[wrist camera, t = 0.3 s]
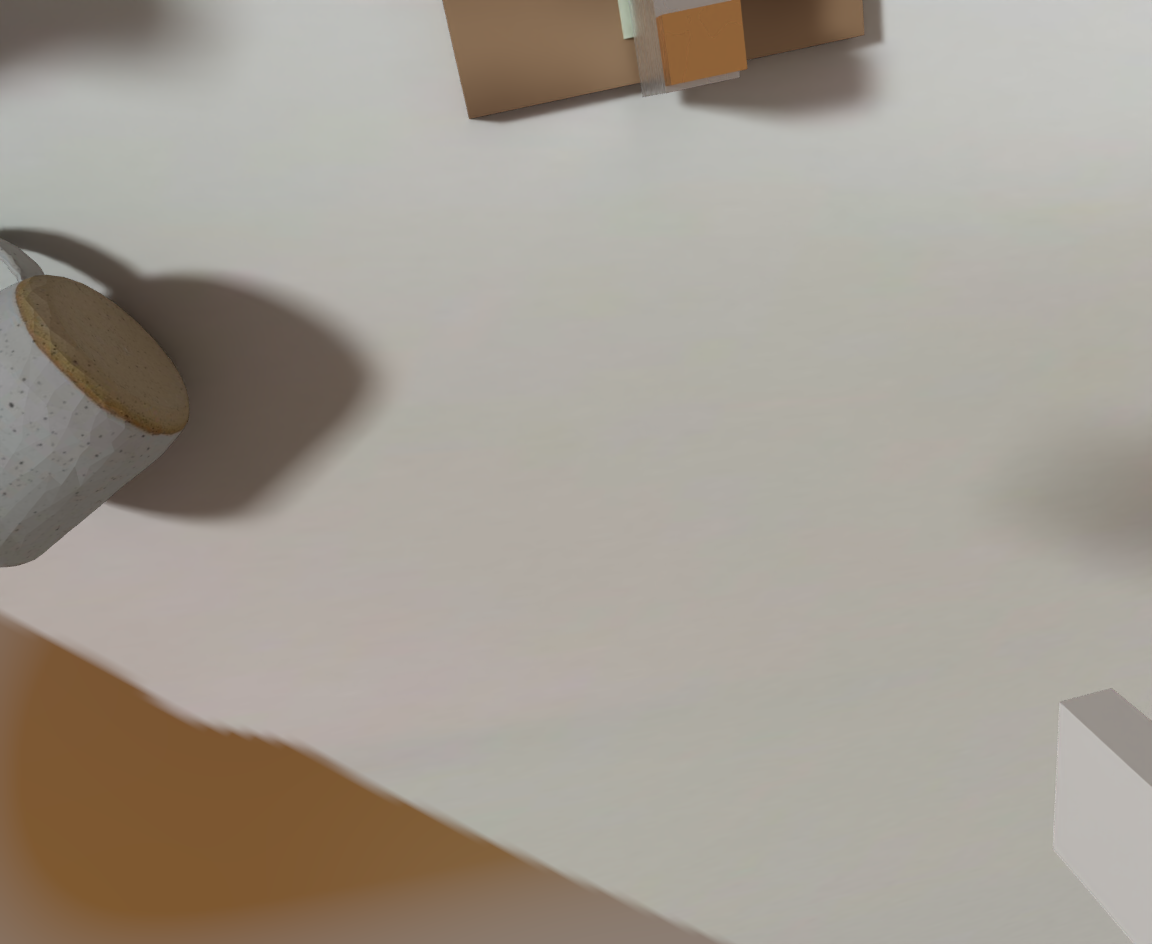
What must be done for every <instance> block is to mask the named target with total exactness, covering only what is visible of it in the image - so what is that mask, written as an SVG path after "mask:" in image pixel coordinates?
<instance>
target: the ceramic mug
mask: <svg viewBox="0 0 1152 944" xmlns="http://www.w3.org/2000/svg"><path fill="white" fill-rule="evenodd" d="M0 259H1V260H2V261H3V262H4V263H5V264H6V265H7V266H8V268H9V270H10V271H11V272H12V274H13V275H15V276H16V278H17V281H18V282H17V283H15V284H13V285H11V286H9V287H7V288H5V289H3V290H1V291H0V567H12V566H17V565H21V564H25V563H27V562H30V561H32V560H35V559H36V558H38V557H39V556H40V555H42V554H43V553H44V552H45V551H47V550H48V549H49V548H50V547H51V546H52V545H54V544H55V543H56V542H57V541H58V540H60V539H61V538H62V537H63V536H64V535H65V534H67V533H68V532H69V531H70V530H71V529H73V528H74V527H75V526H77V525H78V524H79V523H80V522H81V521H83V520H84V519H85V518H86V517H87V516H89V515H90V514H91V513H92V512H93V511H95V510H96V509H97V508H98V507H100V506H101V505H102V504H103V503H104V502H105V501H106V500H107V499H108V498H110V497H111V496H112V495H113V494H114V493H115V492H117V491H118V490H119V489H120V488H121V487H123V486H124V485H125V484H126V483H128V482H129V481H130V480H131V479H133V478H134V477H135V476H137V475H138V474H139V473H140V472H142V471H143V470H144V469H145V468H147V467H148V466H149V465H150V464H151V463H153V462H154V461H155V460H156V459H157V458H159V457H160V456H161V455H162V454H163V453H164V452H165V451H166V450H167V448H168V447H169V446H170V445H171V444H172V442H173V441H174V440H175V439H176V438H177V437H178V435H179V434H180V433H181V432H182V430H183V429H184V427H185V425H186V423H187V422H188V418H189V398H188V394H187V390H186V387H185V385H184V383H183V381H182V378H181V376H180V374H179V372H178V371H177V369H176V367H175V366H174V364H173V363H172V361H171V360H170V358H169V357H168V356H167V355H166V354H165V352H164V351H163V350H162V349H161V347H160V346H159V345H158V344H157V342H156V341H155V340H154V339H153V338H152V337H151V336H150V335H149V334H148V333H147V332H146V331H145V330H144V329H143V328H142V327H141V326H140V325H139V323H138V322H136V321H135V320H134V319H133V318H132V317H131V316H129V315H128V314H127V313H126V312H125V311H124V310H122V309H121V308H120V307H119V306H118V305H116V304H115V303H114V302H112V301H111V300H109V299H108V298H106V297H105V296H103V295H102V294H100V293H99V292H97V291H95V290H93V289H91V288H90V287H88V286H86V285H84V284H82V283H79V282H77V281H74V280H71V279H68V278H65V277H59V276H52V275H44V273H43V271H42V269H41V268H40V267H39V265H38V264H37V263H36V262H35V261H34V260H32V259H31V258H30V257H29V256H28V255H27V254H25V253H24V252H23V251H22V250H21V249H19V248H18V247H17V246H15V245H13V244H12V243H10V242H7V241H5V240H3V239H1V238H0Z"/></svg>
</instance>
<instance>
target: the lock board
mask: <svg viewBox="0 0 1152 944" xmlns="http://www.w3.org/2000/svg"><path fill="white" fill-rule="evenodd" d="M442 1H443V6H444V10H445V14H446V19H447V23H448V28H449V32H450V36H451V41H452V45H453V50H454V54H455V59H456V63H457V67H458V72H459V76H460V81H461V85H462V89H463V94H464V98H465V103H466V107H467V111H468V116H469V119H472V118H477V117H481V116H486V115H491V114H495V113H500V112H505V111H510V110H514V109H519V108H524V107H528V106H533V105H538V104H543V103H547V102H552V101H557V100H561V99H566V98H571V97H575V96H580V95H585V94H590V93H594V92H599V91H604V90H608V89H613V88H618V87H623V86H627V85H632V84H637V83H640V77H639V70H638V64H637V57H636V50H635V44H634V37H633V31H632V24H631V17H630V11H629V4H628V0H442ZM740 2H741V12H742V21H743V31H744V41H745V50H746V60H750V59H754V58H759V57H764V56H769V55H773V54H778V53H783V52H787V51H792V50H797V49H801V48H806V47H811V46H816V45H820V44H825V43H830V42H834V41H839V40H844V39H849V38H853V37H858V36H862V35H864V20H863V2H862V0H740Z"/></svg>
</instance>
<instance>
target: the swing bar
mask: <svg viewBox="0 0 1152 944" xmlns="http://www.w3.org/2000/svg"><path fill="white" fill-rule="evenodd" d="M628 4H629V11H630V17H631V24H632V31H633V37H634V44H635V50H636V57H637V64H638V70H639V77H640V84H641V90H642V97H647V96H653V95H658V94H664V93H669V92H674V91H678V90H683V89H688V88H692V87H697V86H702V85H706V84H711V83H716V82H720V81H725V80H730V79H735V78H739V77H740V73H739V71H740V70H745V69H747V60H746V50H745V41H744V31H743V21H742V12H741V2H740V0H628Z"/></svg>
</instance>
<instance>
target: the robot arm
mask: <svg viewBox="0 0 1152 944" xmlns="http://www.w3.org/2000/svg"><path fill="white" fill-rule="evenodd" d="M1053 850H1054V851H1055V852H1056V853H1057V854H1058V856H1059V857H1060V858H1061V859H1062V860H1063V861H1064V863H1065V864H1066V865H1067V866H1068V867H1069V868H1070V870H1071V871H1072V872H1073V873H1074V874H1075V875H1076V877H1077V878H1078V879H1079V880H1080V881H1081V882H1082V884H1083V885H1084V886H1085V887H1086V888H1087V890H1088V891H1089V892H1090V893H1091V894H1092V895H1093V897H1094V898H1095V899H1096V900H1097V901H1098V902H1099V904H1100V905H1101V906H1102V907H1103V908H1104V909H1105V911H1106V912H1107V913H1108V914H1109V915H1110V917H1111V918H1112V919H1113V920H1114V921H1115V922H1116V924H1117V925H1118V926H1119V927H1120V928H1121V929H1122V931H1123V932H1124V933H1125V934H1126V935H1127V936H1128V938H1129V939H1130V940H1131V941H1132V942H1133V943H1134V944H1152V721H1151V720H1150V719H1149V718H1147V717H1146V716H1145V715H1144V714H1143V713H1141V712H1140V711H1139V710H1138V709H1137V708H1135V707H1134V706H1133V705H1132V704H1131V703H1129V702H1128V701H1127V700H1126V699H1125V698H1123V697H1122V696H1121V695H1120V694H1119V693H1117V692H1116V691H1115V690H1114V689H1113V688H1110V689H1106V690H1102V691H1099V692H1095V693H1091V694H1087V695H1084V696H1080V697H1076V698H1072V699H1069V700H1065V701H1061V702H1059V724H1058V746H1057V768H1056V790H1055V811H1054V833H1053Z"/></svg>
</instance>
